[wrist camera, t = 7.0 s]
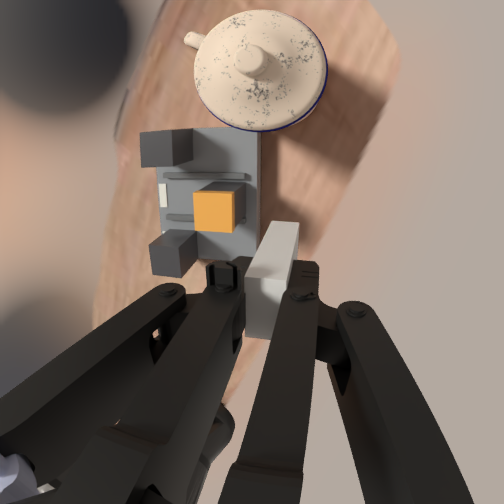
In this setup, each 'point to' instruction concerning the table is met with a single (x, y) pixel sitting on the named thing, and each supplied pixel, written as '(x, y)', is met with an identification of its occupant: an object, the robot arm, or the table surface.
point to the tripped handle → (219, 206)
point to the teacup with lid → (259, 70)
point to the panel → (195, 178)
